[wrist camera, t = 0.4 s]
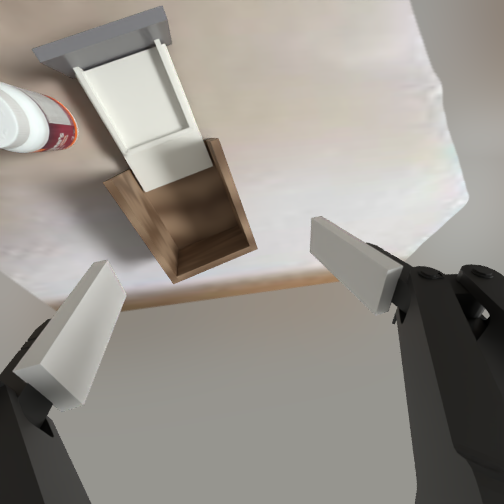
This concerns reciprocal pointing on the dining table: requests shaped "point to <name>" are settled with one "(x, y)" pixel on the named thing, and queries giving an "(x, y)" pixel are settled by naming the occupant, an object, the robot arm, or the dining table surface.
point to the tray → (135, 94)
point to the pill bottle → (34, 122)
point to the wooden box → (188, 217)
